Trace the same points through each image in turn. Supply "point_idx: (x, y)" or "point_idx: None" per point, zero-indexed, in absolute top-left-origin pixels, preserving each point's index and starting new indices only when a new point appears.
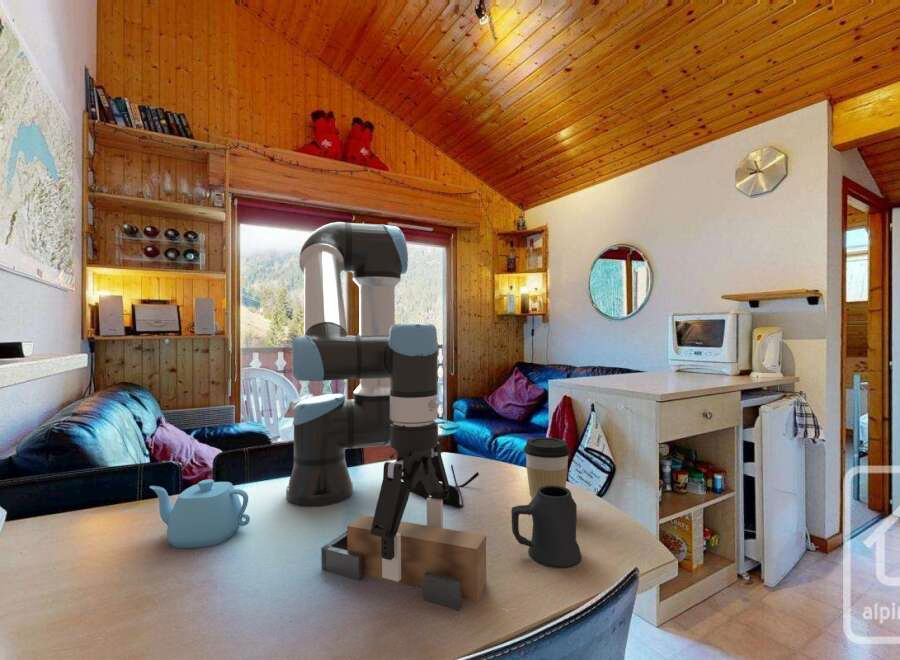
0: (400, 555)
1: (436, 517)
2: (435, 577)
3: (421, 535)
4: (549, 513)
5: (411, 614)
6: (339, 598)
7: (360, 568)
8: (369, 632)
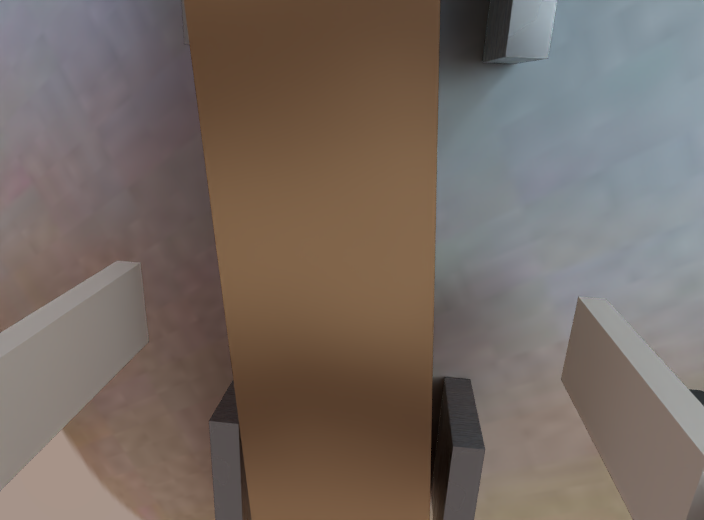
0: (82, 404)
1: (612, 437)
2: (215, 465)
3: (287, 455)
4: None
5: (173, 344)
6: (110, 37)
7: None
8: (35, 262)
